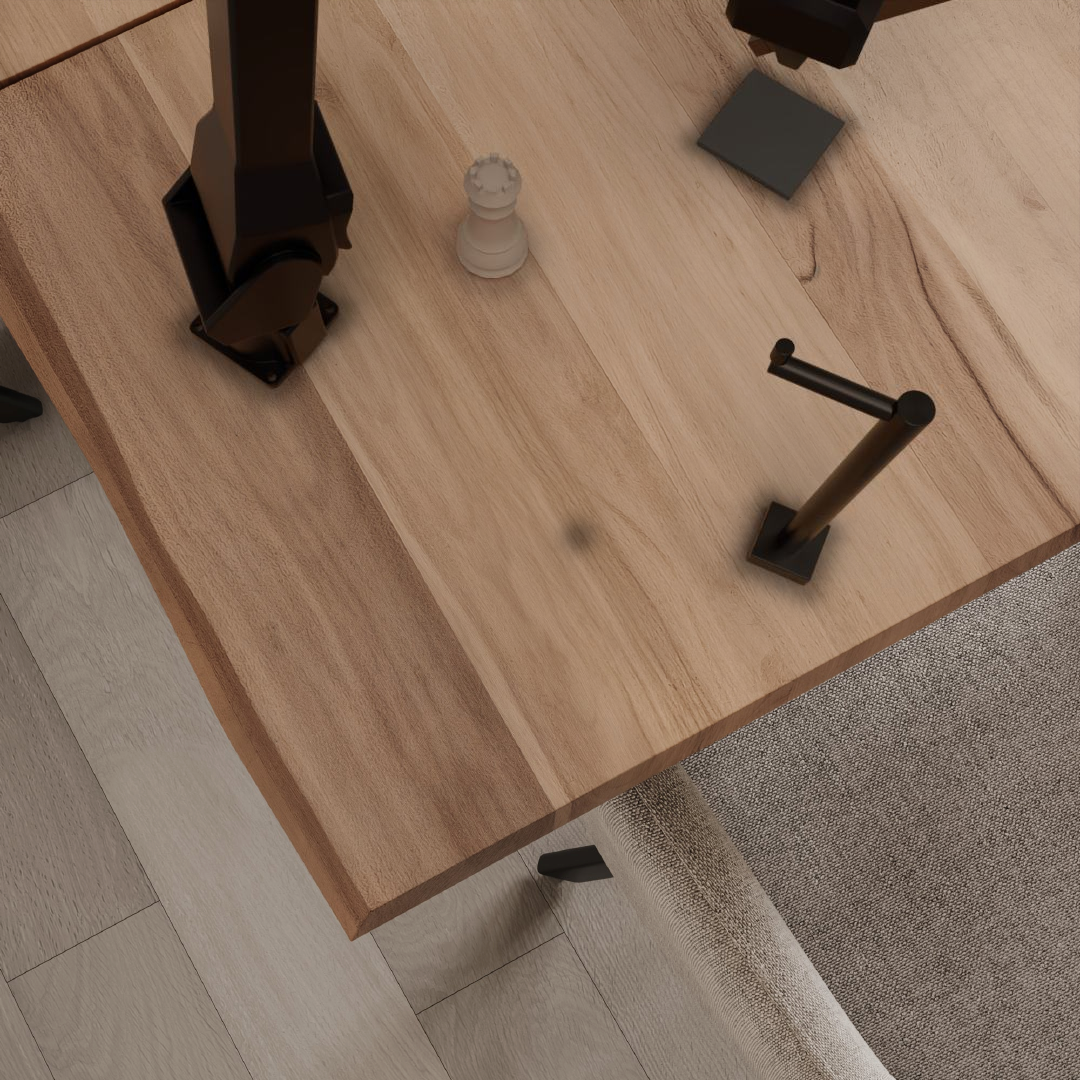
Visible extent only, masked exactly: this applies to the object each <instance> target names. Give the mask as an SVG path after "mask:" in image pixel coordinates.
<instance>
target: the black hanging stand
mask: <svg viewBox="0 0 1080 1080" xmlns="http://www.w3.org/2000/svg"><path fill="white" fill-rule="evenodd" d="M795 349H796V346H795V343H794V341H793V340H792V339H790V338H787V337H782V338H779V339H778V340H777V341H775V344H774V345H773V347H772V349H771V351H770V352H769V360H770V362H769V364H768V367H767V369H766V373H767V374H770V375H773V376H775V377H777V378H779V379H781V380H784V381H786V382H789V383H791V384H794V385H796V386H799V387H801V388H803V389H806V390H807V391H810V392H812V393H815V394H817V395H819V396H822V397H825V398H827V399H829V400H832V401H834V402H837V403H839V404H841V405H843V406H846V407H849V408H851V409H853V410H856V411H858V412H861V413H863V414H865V415H867V416H869V417H873V418H875V419H877V421H876V423H875V424H874V425H873V426H872V427H871V428H870V429H869V430H868V432H867V433H866V434H865V435H864V436H863V437H862V438H861V440H859V442H858V443H857V444H856V445H855V446H854V448H853V449H851V451H850V452H849V453H848V455H846V456H845V458H844V459H843V460H842V461H841V462H840V463H839V464H838V465H837V466H836V468H835V469H834V470H833V471H832V472H831V474H830V475H828V477H827V478H826V479H825V480H824V481H823V483H822V484H820V486H819V487H817V489H816V490H815V491H814V492H813V493H812V494H811V496H810V497H809V498H808V499H807V500H806V501H805V503H804V504H803V505H802V506H801V507H800V508H799V509H798V510H796V509H793V508H790V507H788V506H785V505H783V504H781V503H779V502H777V501H775V500H772V501H771V502H770V504H769V505H768V506H767V507H766V510H765V512H764V514H763V517H762V520H761V522H760V524H759V527H758V530H757V532H756V535H755V537H754V540H753V542H752V545H751V546H750V550H749V552H748V555H747V557H746V561H747V562H748V563H751V564H753V565H755V566H757V567H760V568H762V569H765V570H766V571H769V572H770V573H773V574H776V575H778V576H781V577H783V578H785V579H788V580H790V581H792V582H795V583H797V584H799V585H801V586H806V585H807V584H808V583H809V582H810V581H811V580H812V577H813V574H814V571H815V570H816V566H817V564H818V561H819V558H820V556H821V554H822V551H823V549H824V545H825V543H826V541H827V538H828V535H829V532H830V530H831V525H830V523H832V521H833V520H834V519H836V517H837V516H838V515H839V514H840V513H841V512H842V511H843V510H844V509H845V508H846V507H847V506H848V505H849V504H850V503H851V502H853V500H854V499H855V498H856V497H857V496H858V495H859V494H860V493H861V492H862V491H863V490H864V489H865V488H866V487H867V486H868V485H869V484H870V483H872V482H873V480H874V479H875V478H876V477H878V475H880V473H882V472H883V470H885V469H886V467H888V465H889V464H890V463H891V462H893V461H894V460H895V459H896V458H897V456H899V455H900V454H901V453H902V452H903V451H904V449H906V448H907V447H908V446H909V445H910V444H911V443H912V442H913V441H914V440H915V439H916V438H917V437H918V436H919V435H920V434H921V433H922V432H923V431H924V430H925V429H926V428H927V427H928V426H929V425H930V424H931V423H932V422H933V421H934V419H935V417H936V413H937V407H936V404H935V402H934V400H933V399H932V397H930V395H928V394H927V393H926V392H924V391H921V390H917V389H914V390H913V389H911V390H907V391H905V392H903V393H902V394H901V395H900V396H898V398H897V399H896V398H894V397H891V396H889V395H887V394H884V393H883V392H880V391H877V390H875V389H872V388H870V387H868V386H865V385H863V384H860V383H858V382H856V381H853V380H851V379H848V378H846V377H844V376H841V375H840V374H839V375H838V374H836V373H834V372H831V371H829V370H827V369H824V368H822V367H820V366H816V365H815V364H813V363H810V362H807V361H805V360H803V359H800V358H798V357H795V356H793V354H794V353H795Z"/></svg>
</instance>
